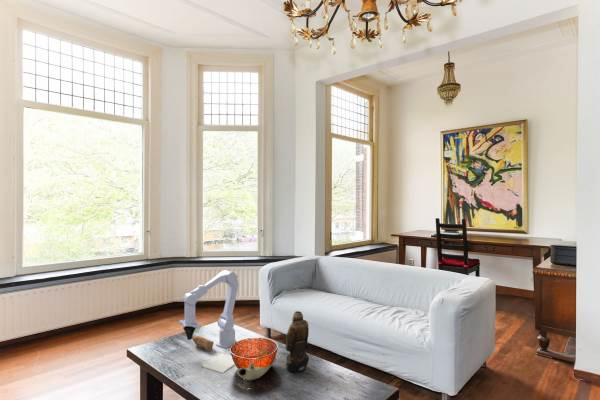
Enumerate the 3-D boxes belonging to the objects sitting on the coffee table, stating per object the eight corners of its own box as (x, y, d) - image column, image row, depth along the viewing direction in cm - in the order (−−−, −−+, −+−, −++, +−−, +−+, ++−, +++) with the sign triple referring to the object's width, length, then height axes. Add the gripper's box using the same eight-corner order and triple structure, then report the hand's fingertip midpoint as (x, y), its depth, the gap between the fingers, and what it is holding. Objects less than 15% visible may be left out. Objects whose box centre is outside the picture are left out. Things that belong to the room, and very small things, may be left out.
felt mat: (221, 354, 194) (221, 353, 194) (241, 359, 188) (241, 358, 188) (201, 366, 180) (201, 365, 180) (222, 373, 173) (222, 372, 173)
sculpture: (299, 362, 188) (297, 306, 189) (313, 370, 178) (311, 311, 179) (279, 368, 180) (278, 310, 182) (293, 377, 170) (291, 315, 172)
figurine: (213, 351, 197) (196, 353, 205) (217, 336, 202) (200, 339, 210) (202, 346, 192) (185, 348, 200) (206, 331, 198) (189, 334, 205)
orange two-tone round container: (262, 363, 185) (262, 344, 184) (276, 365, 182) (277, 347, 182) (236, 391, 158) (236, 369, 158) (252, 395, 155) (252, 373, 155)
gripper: (174, 314, 192) (174, 339, 192) (194, 319, 185) (194, 344, 186) (184, 311, 198) (184, 334, 198) (203, 315, 192) (203, 339, 192)
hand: (189, 339), depth 192 cm, fingers closed
